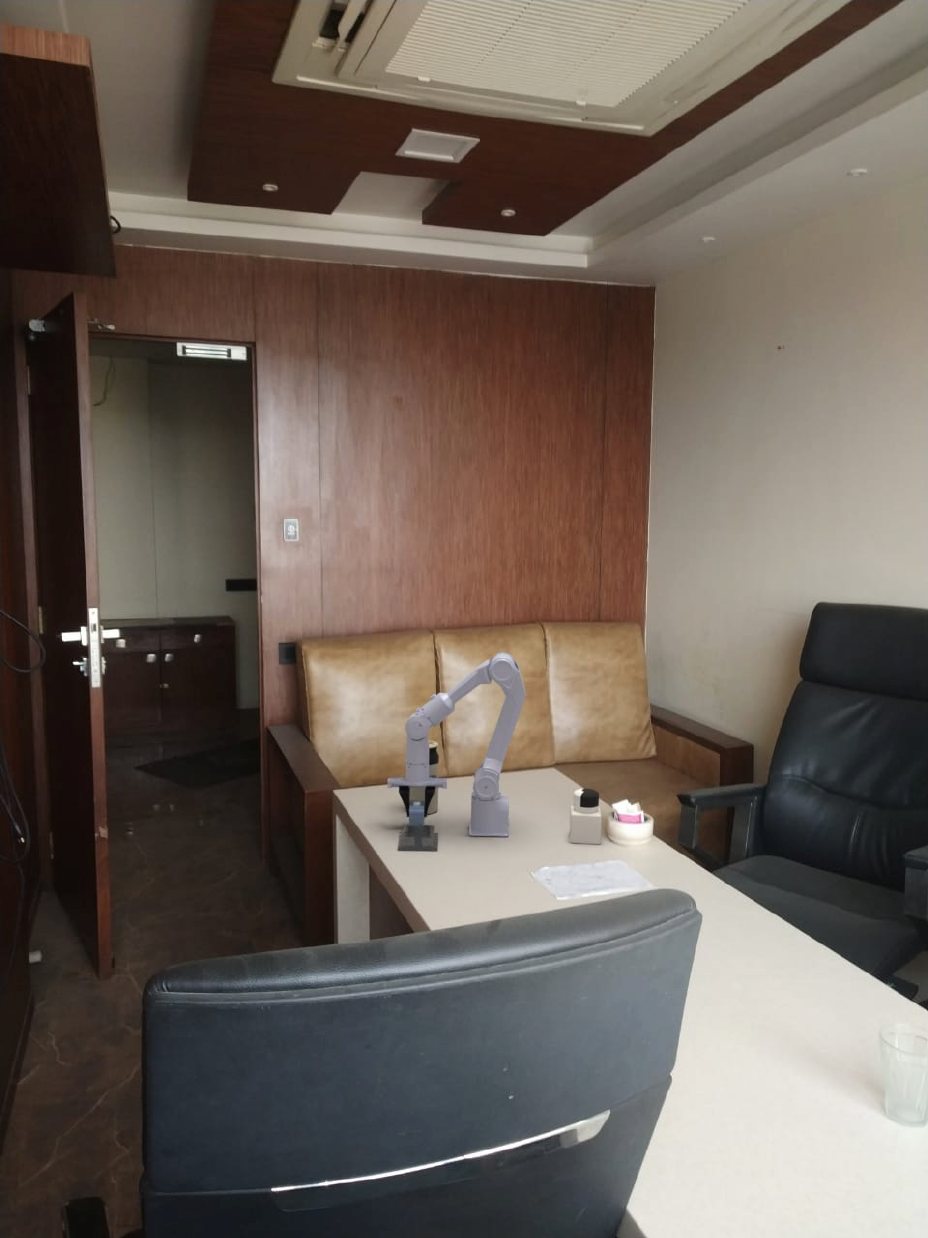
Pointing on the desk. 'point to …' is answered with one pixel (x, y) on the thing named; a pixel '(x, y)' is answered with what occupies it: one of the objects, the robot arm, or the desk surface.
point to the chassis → (418, 838)
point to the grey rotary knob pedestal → (585, 817)
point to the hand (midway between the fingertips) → (417, 816)
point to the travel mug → (433, 773)
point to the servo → (416, 812)
